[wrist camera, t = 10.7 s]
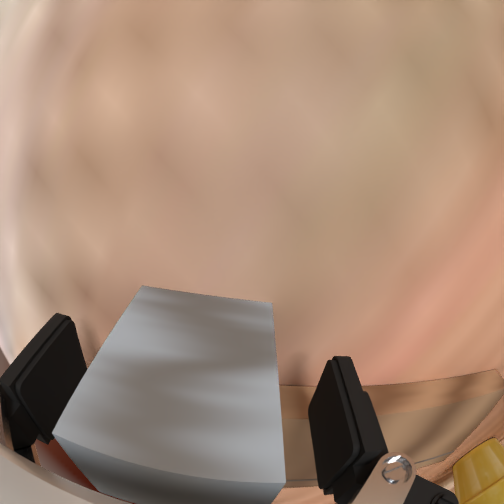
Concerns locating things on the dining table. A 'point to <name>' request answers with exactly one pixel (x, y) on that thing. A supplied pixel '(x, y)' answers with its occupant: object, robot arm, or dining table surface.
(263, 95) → the dining table surface
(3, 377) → the robot arm
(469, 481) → the plant pot
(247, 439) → the wooden handled gray mallet
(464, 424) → the board
